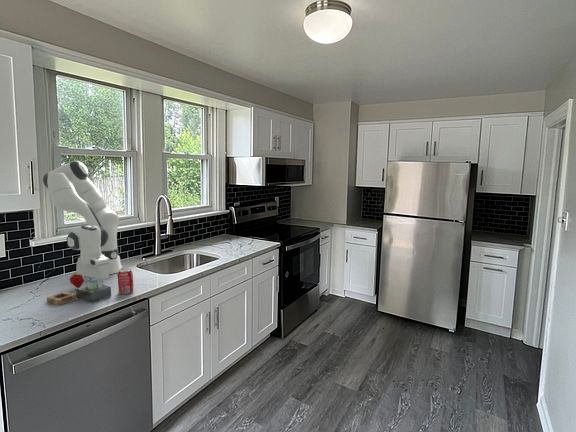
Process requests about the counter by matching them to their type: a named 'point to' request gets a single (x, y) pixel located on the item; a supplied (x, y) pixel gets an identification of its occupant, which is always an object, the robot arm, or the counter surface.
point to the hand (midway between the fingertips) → (93, 285)
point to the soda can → (125, 281)
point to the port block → (93, 293)
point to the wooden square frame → (61, 298)
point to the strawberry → (76, 280)
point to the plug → (92, 284)
